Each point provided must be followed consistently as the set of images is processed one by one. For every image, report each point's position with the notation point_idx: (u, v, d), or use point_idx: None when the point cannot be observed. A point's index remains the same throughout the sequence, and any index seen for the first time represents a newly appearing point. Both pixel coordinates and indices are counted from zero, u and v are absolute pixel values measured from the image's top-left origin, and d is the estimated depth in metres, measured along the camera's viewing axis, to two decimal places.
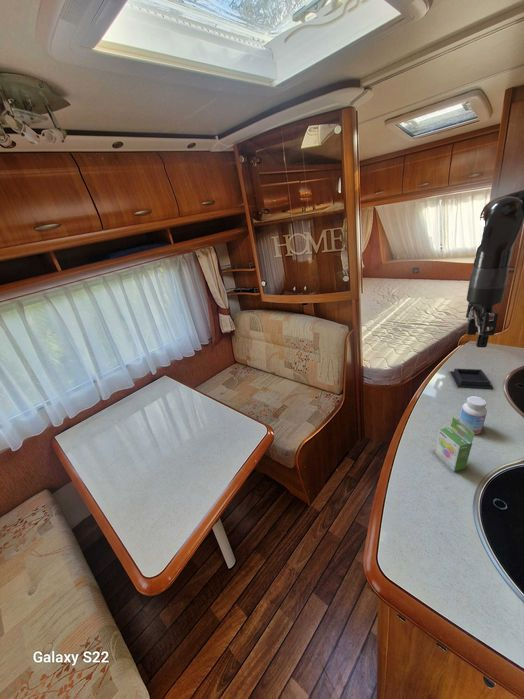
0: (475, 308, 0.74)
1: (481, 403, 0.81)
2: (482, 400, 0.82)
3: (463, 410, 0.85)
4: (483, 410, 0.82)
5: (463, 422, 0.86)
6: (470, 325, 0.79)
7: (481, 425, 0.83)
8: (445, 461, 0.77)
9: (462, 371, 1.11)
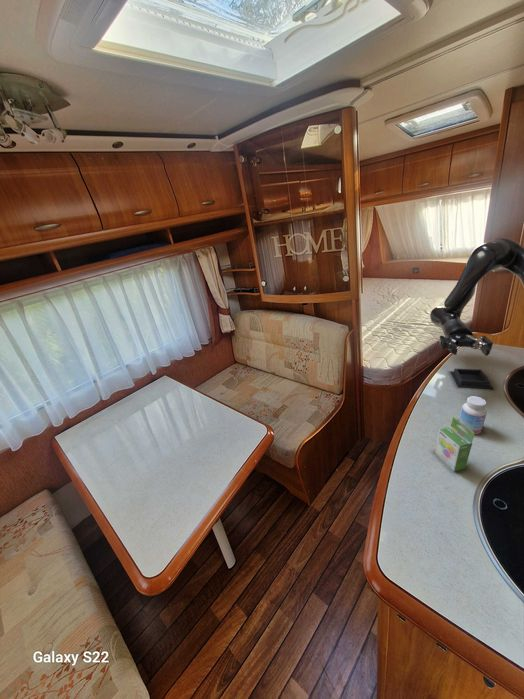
0: None
1: (481, 403, 0.81)
2: (482, 400, 0.82)
3: (463, 410, 0.85)
4: (483, 410, 0.82)
5: (463, 422, 0.86)
6: (482, 350, 0.89)
7: (481, 425, 0.83)
8: (445, 461, 0.77)
9: (462, 371, 1.11)
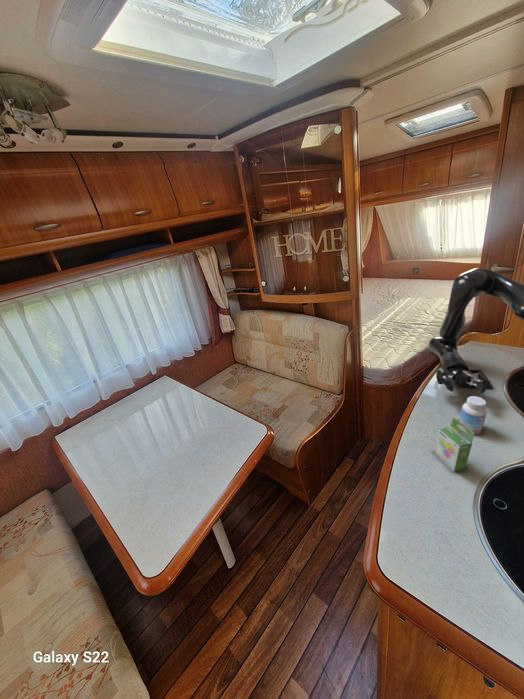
0: None
1: (481, 403, 0.81)
2: (482, 400, 0.82)
3: (463, 410, 0.85)
4: (483, 410, 0.82)
5: (463, 422, 0.86)
6: (477, 387, 0.91)
7: (481, 425, 0.83)
8: (445, 461, 0.77)
9: None
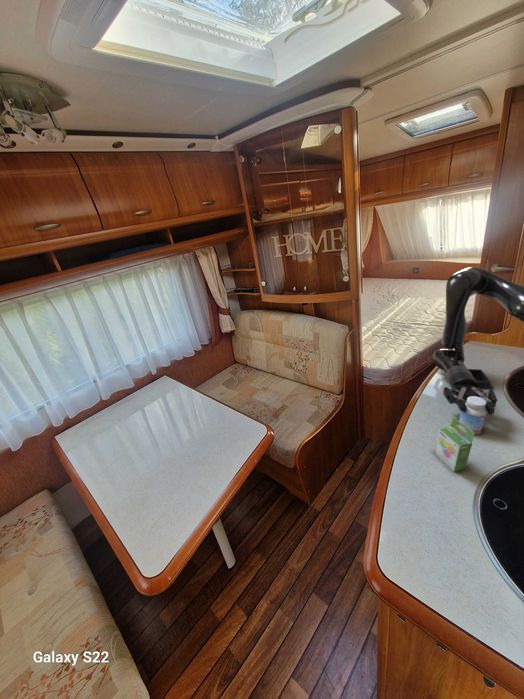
0: None
1: (480, 403, 0.81)
2: (482, 400, 0.82)
3: None
4: (483, 410, 0.82)
5: (463, 422, 0.86)
6: (485, 407, 0.83)
7: (481, 425, 0.83)
8: (445, 461, 0.77)
9: None
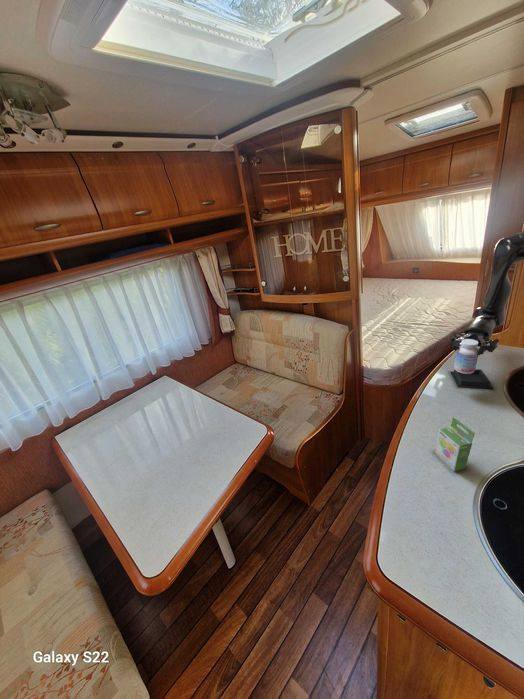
0: None
1: (471, 343, 0.90)
2: (475, 342, 0.91)
3: (457, 350, 0.95)
4: (473, 350, 0.91)
5: (455, 361, 0.96)
6: None
7: (470, 365, 0.92)
8: (445, 461, 0.77)
9: None
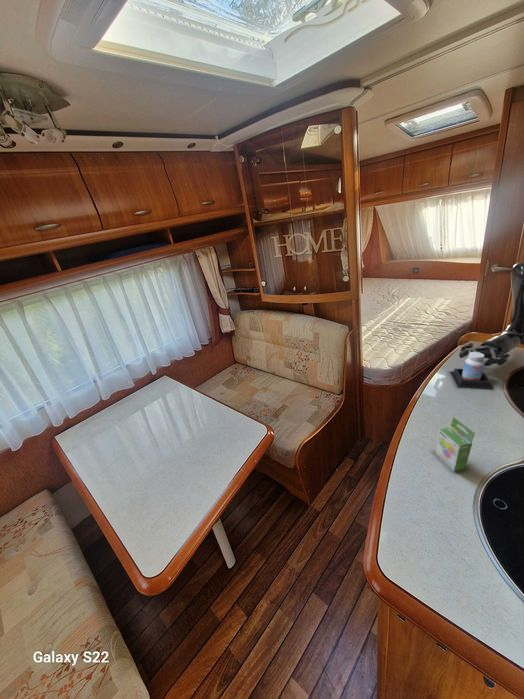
0: None
1: (476, 356, 1.02)
2: (481, 355, 1.02)
3: None
4: (477, 362, 1.02)
5: (463, 370, 1.08)
6: None
7: (473, 375, 1.04)
8: (445, 461, 0.77)
9: (462, 371, 1.11)
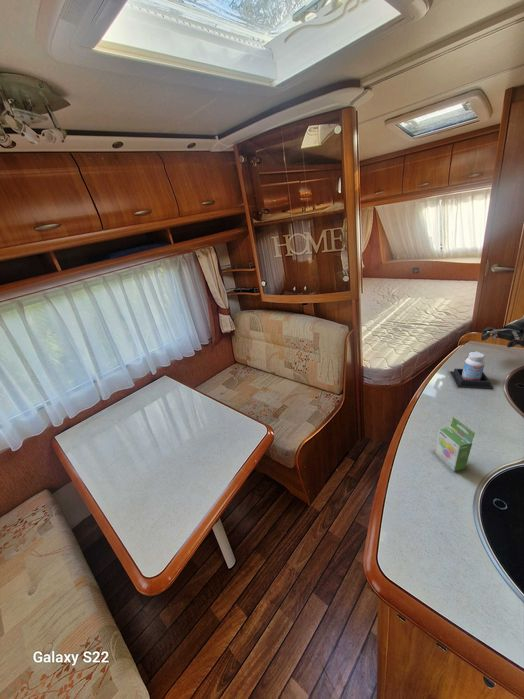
0: None
1: (476, 356, 1.02)
2: (481, 355, 1.02)
3: None
4: (477, 362, 1.02)
5: None
6: None
7: (473, 375, 1.04)
8: (445, 461, 0.77)
9: (462, 371, 1.11)
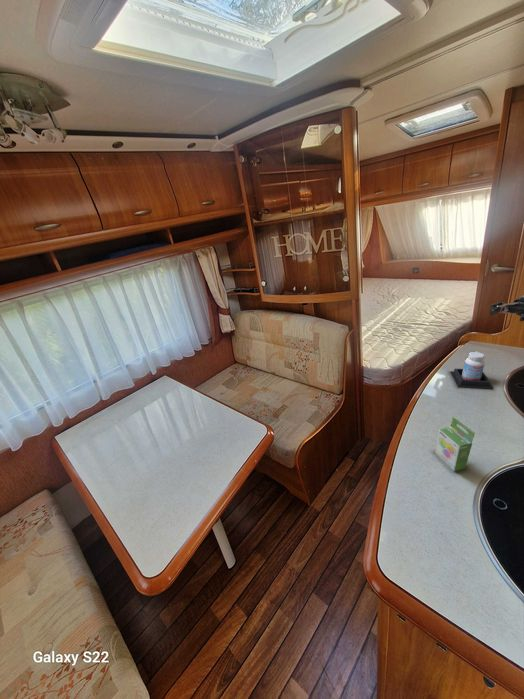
0: None
1: (476, 356, 1.02)
2: (481, 355, 1.02)
3: None
4: (477, 362, 1.02)
5: None
6: None
7: (473, 375, 1.04)
8: (445, 461, 0.77)
9: (462, 371, 1.11)
